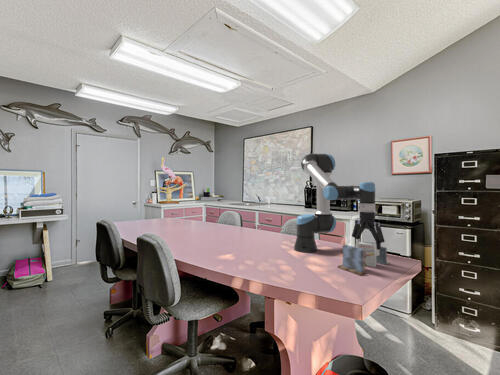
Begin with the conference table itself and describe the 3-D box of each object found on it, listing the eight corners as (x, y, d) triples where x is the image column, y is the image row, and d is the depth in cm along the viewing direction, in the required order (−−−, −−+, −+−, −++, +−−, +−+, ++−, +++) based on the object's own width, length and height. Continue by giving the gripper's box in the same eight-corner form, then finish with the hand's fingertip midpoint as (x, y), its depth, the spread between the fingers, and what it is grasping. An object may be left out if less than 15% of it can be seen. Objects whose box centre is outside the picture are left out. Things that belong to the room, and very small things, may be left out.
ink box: (376, 264, 138) (376, 242, 138) (376, 267, 134) (376, 244, 134) (359, 262, 142) (359, 241, 142) (358, 265, 138) (358, 243, 138)
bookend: (368, 260, 146) (368, 244, 146) (373, 259, 148) (373, 243, 148) (385, 265, 137) (385, 248, 137) (390, 263, 139) (390, 247, 139)
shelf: (337, 267, 137) (337, 244, 137) (371, 260, 150) (371, 239, 150) (360, 275, 125) (360, 250, 125) (394, 266, 138) (394, 244, 138)
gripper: (344, 209, 146) (344, 249, 146) (383, 213, 126) (383, 259, 126) (354, 209, 150) (354, 247, 150) (392, 213, 129) (392, 257, 130)
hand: (367, 253), depth 138 cm, fingers open, 11 cm apart
